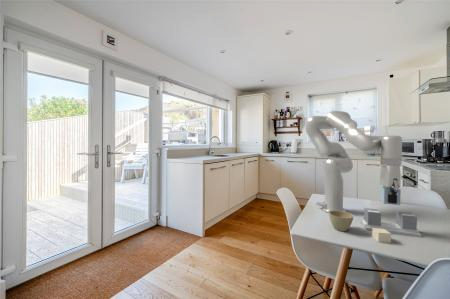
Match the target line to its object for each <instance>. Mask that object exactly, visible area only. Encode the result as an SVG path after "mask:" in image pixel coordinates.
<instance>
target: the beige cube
mask: <svg viewBox="0 0 450 299" xmlns="http://www.w3.org/2000/svg"><path fill="white" fill-rule="evenodd" d="M371 235H372V238H373V239H374V240H376V242H378V243H386V244H387V243H388V244H391V243H392V242H391V241H392V233H390V232H388V231H387V230H385V229H379V228H373V231H372V234H371Z"/></svg>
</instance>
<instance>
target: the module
mask: <svg viewBox="0 0 450 299" xmlns="http://www.w3.org/2000/svg"><path fill="white" fill-rule="evenodd" d="M392 188H394V187H393V186H392ZM391 191H392V189H391ZM401 191H402V190H401V189H400V188H399V191H398V192H397V193H398V195H397V204H394V203H388V194H389V188H387V187H383V186H380V195H379V196H380V198H379V199H380V202H381V203H382V204H384V205H395V206H397V205H398V206H401Z"/></svg>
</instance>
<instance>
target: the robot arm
mask: <svg viewBox="0 0 450 299" xmlns="http://www.w3.org/2000/svg"><path fill="white" fill-rule="evenodd" d="M357 127H358V123H357V121H356V120H354V119H352V118H351V115H350V114H349V112H346V111H340V110H332V111H329V112H328V113H327V115H325V116H324V115H313V116H310V117H309V118H308V119H307V120H306V123H305V131H306V134H307V136H308V137H309V138H310V140H311V142H312V144H313V146H314V147H315V149H316V151H317V153H318V154H319V156H320V157H321V158H324V159H326V160H325V161H324V163H323V172H324V200H323V201H321V202H320V201H316V203H315V204H316V206H318V207H321V210H322V211H323V212H325V213H328V214H329V212H330V211H343V212H347V211H346V208H344V178H343V175H342V174H346V173H349V172H351V171H352V170H353V168H354V165H353V161H352V159H351V157H350V156H349V154H348V153H347V151H346V149H345V148H344V147H343V145H342V144H340V143H338V142H331V141H330V140H329V139H328V137H327V136H326V134H325V133H324V132H323V131H322V130H333V129H336V130H337V131H339V132H340V133H341V134H343V135H344V138H345V140H346V141H347V142H349V143H350V145H352V146H354V147H355V148H357V149H358V150H360V151H364V152H378V151H380V173H379V185H381V186H382V187H387V188H389V194H388V203H394V204H397V195H398V193H397V192H398V191H399V189H400V188H401V184H402V183H401V182H402V181H401V180H402V179H401V177H402V176H401V167H403V166H402V163H403V162H402V159H403V158H402V157H403V153H402V152H403V138H402V136H400V135H383V136H381V135H367V134H366V133H364V132H362V131H360V130H359V129H358V128H357ZM392 187H394V188H392ZM391 189H392V191H391Z"/></svg>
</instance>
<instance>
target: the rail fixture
mask: <svg viewBox="0 0 450 299" xmlns="http://www.w3.org/2000/svg"><path fill="white" fill-rule="evenodd" d="M363 211H364V212H363V219H362V220H360V224H361V225H362V227H363V228H364V229H365V230H366V231H370V232H373V228H379V229H385V230H387V231H388V232H390V233H391V235H392V234H393V235H401V236H410V237H417V238H422V233H420V231H419V229H418V227H417V226H418V216H416V215H415V214H413V213H411V212H409V211H400V210H399V211H398V210H397V211H396V220H395V221H396V222H395V223H393V222H383V221H382V213H381V212H380V211H379V210H378V209H377V208H370V207H369V208H367V207H364V210H363Z"/></svg>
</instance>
